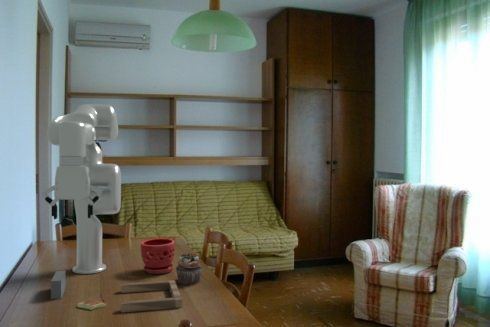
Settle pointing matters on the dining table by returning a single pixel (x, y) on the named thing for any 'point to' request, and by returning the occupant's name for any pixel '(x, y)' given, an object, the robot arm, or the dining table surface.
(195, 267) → the cupcake
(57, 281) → the block
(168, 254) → the plant pot
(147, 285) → the walnut frame
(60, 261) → the dining table surface
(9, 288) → the dining table surface
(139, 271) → the dining table surface
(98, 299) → the shard
